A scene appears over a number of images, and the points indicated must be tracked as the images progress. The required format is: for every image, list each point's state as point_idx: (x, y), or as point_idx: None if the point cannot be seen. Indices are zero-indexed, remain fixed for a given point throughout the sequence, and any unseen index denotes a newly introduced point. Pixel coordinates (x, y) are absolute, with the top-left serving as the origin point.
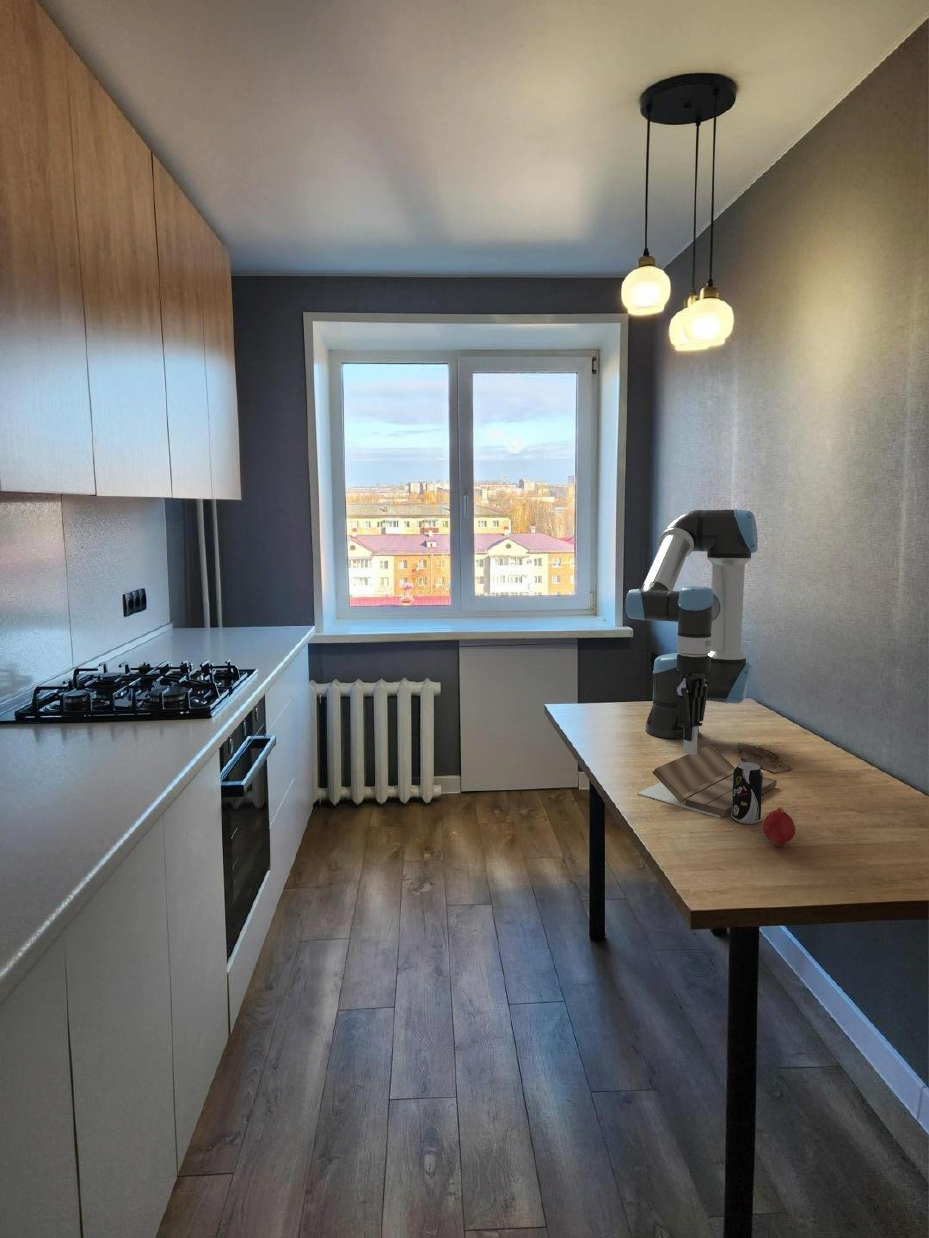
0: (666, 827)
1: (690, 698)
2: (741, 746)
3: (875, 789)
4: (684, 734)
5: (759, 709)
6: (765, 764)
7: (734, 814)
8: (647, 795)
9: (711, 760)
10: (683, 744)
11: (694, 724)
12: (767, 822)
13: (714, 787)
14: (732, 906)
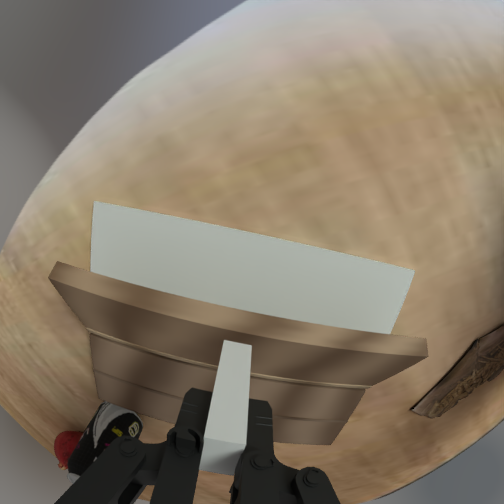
0: (17, 309)
1: None
2: None
3: (367, 487)
4: (181, 409)
5: None
6: (454, 383)
7: (98, 408)
8: (93, 231)
9: (337, 368)
10: (219, 362)
11: (235, 473)
12: (54, 444)
13: (205, 377)
14: None
